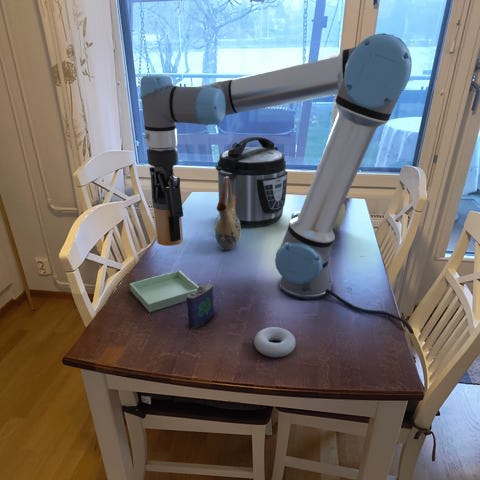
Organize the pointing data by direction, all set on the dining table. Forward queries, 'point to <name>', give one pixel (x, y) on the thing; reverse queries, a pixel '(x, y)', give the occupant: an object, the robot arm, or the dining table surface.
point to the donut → (271, 348)
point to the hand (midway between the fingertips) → (169, 235)
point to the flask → (200, 305)
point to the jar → (163, 222)
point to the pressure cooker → (255, 181)
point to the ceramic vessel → (227, 219)
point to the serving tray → (163, 290)
